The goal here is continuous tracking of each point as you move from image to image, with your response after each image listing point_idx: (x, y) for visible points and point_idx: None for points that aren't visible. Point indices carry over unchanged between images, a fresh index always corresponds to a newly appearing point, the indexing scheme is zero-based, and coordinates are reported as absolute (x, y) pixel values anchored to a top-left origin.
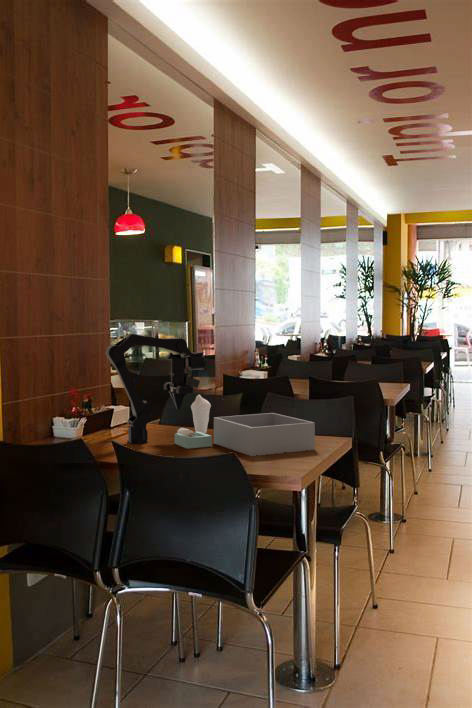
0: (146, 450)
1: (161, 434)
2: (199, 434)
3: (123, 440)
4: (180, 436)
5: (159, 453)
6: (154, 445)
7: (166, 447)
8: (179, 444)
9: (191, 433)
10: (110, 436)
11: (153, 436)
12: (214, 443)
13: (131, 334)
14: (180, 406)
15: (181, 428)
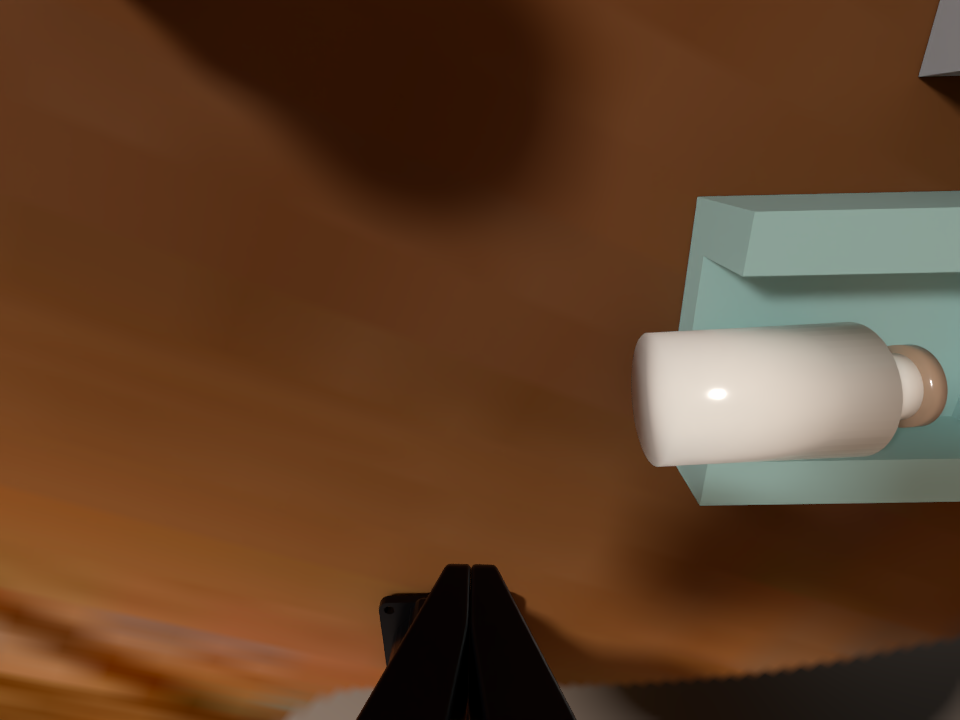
0: (768, 665)
1: (84, 370)
2: (904, 269)
3: (310, 677)
4: (860, 497)
5: (927, 636)
6: (624, 580)
7: (761, 540)
8: None
9: (939, 405)
10: (104, 698)
11: (189, 466)
12: (935, 75)
13: None
14: (521, 630)
15: (699, 449)
